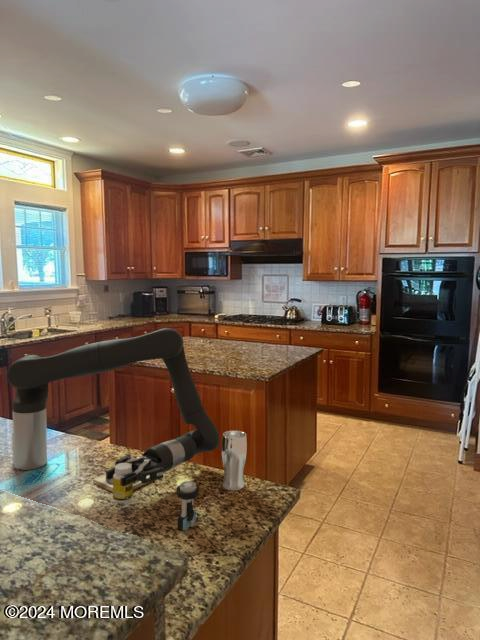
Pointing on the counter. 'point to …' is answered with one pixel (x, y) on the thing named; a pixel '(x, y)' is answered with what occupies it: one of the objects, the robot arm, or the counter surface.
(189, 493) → the push button
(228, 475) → the beer glass
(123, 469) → the supplement bottle
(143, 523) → the counter surface
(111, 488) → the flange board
